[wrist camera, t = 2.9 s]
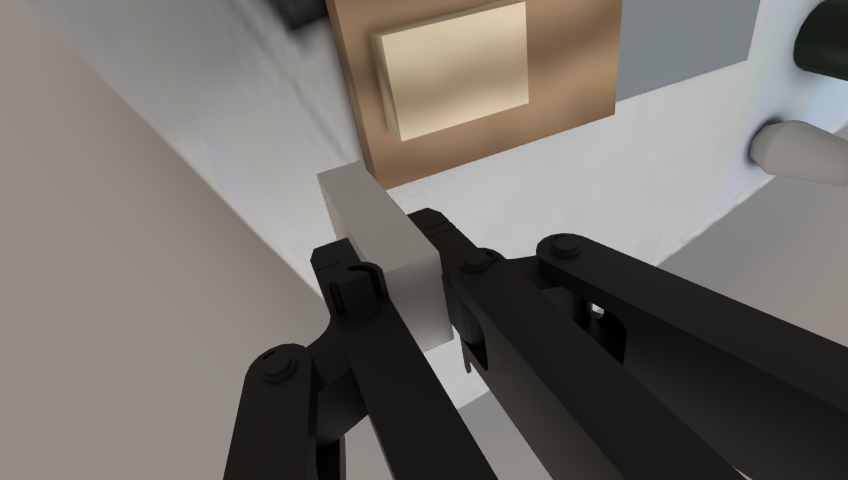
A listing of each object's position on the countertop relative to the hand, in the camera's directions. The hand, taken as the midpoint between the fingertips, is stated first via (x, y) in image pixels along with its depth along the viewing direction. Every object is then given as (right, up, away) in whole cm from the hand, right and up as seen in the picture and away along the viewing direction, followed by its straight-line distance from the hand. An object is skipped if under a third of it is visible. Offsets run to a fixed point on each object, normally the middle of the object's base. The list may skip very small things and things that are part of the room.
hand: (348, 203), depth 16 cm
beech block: (+4, +10, +13) cm, 17 cm away
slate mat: (+24, +19, +21) cm, 37 cm away
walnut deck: (+7, +12, +16) cm, 21 cm away
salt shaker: (+39, +9, +34) cm, 53 cm away
